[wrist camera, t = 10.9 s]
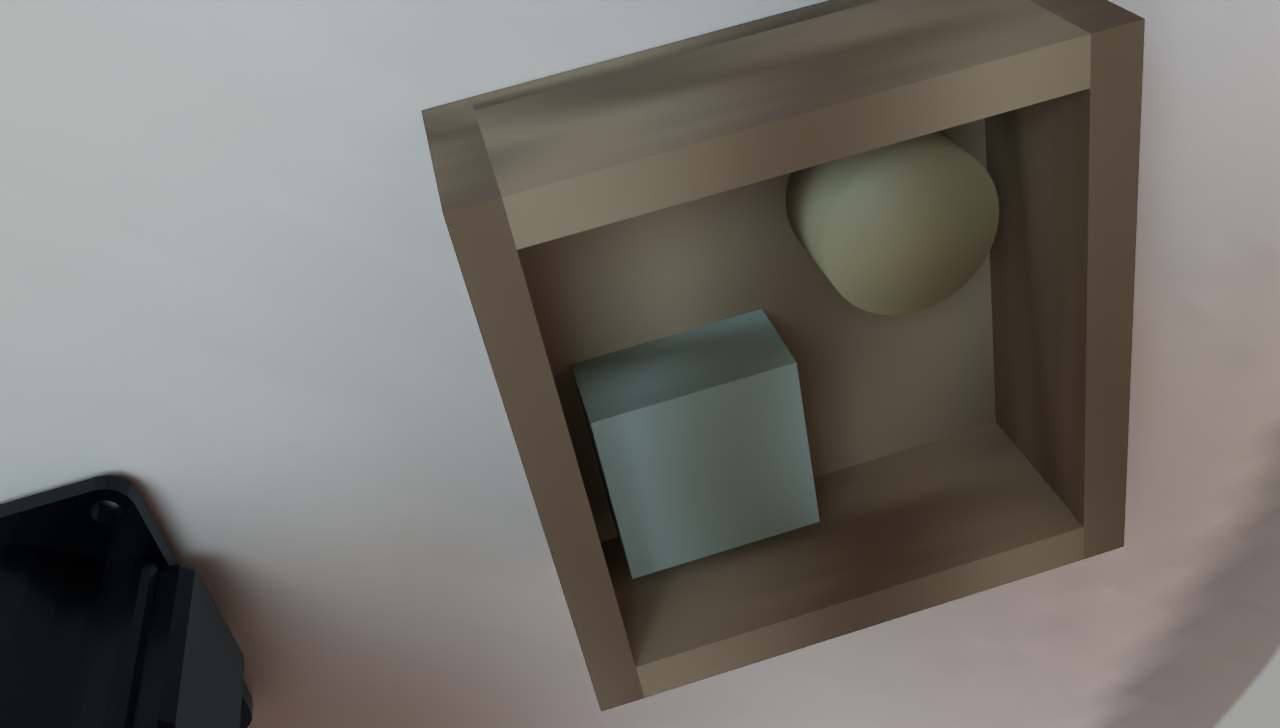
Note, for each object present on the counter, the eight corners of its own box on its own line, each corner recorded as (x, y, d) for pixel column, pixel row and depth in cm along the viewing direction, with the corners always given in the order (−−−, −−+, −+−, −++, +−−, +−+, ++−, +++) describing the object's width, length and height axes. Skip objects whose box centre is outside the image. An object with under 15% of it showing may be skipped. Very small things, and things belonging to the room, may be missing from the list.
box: (563, 564, 25) (601, 711, 22) (421, 110, 19) (443, 214, 16) (1019, 425, 26) (1123, 545, 22) (1007, -48, 20) (1144, 19, 17)
